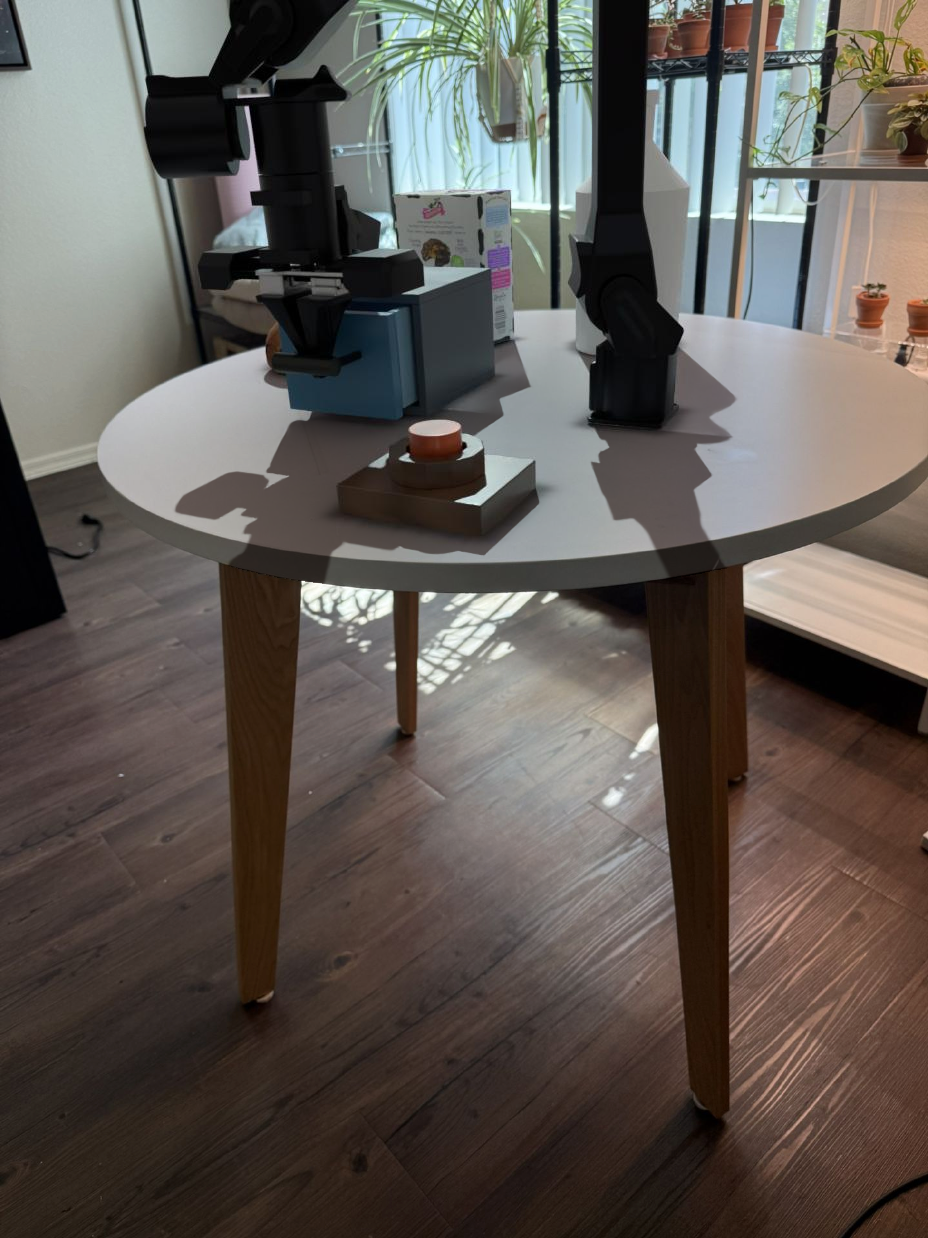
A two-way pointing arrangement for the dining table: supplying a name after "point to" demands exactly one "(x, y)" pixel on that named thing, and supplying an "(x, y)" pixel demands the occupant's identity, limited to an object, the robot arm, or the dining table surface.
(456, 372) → the drawer cabinet
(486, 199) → the candy box
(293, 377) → the blue drawer
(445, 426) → the button
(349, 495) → the control block
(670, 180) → the bottle
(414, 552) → the dining table surface
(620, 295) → the robot arm
